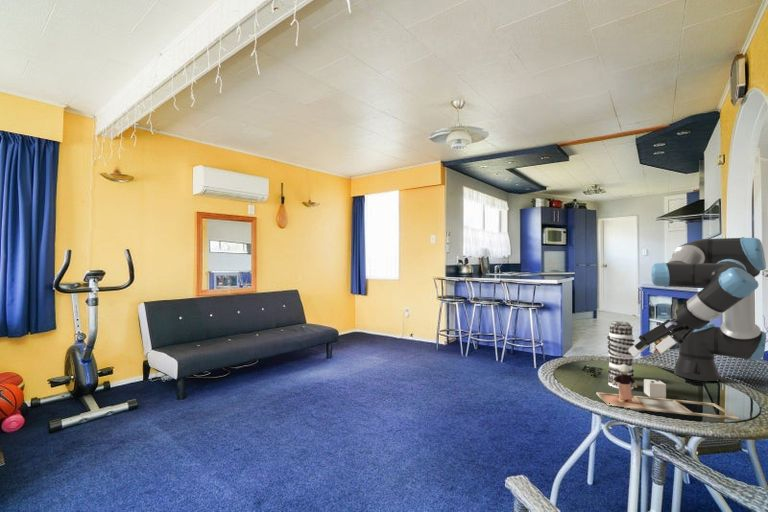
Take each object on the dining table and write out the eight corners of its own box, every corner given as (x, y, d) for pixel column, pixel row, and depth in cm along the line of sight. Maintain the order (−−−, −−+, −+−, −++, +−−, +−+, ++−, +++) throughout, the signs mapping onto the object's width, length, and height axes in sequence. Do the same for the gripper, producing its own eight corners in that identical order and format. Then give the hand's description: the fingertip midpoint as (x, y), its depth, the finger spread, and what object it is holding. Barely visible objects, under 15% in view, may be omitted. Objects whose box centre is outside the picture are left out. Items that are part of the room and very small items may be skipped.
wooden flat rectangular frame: (714, 405, 125) (714, 403, 125) (739, 420, 113) (739, 418, 113) (596, 393, 135) (596, 392, 135) (607, 406, 122) (607, 404, 122)
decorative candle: (611, 388, 141) (611, 323, 141) (604, 381, 150) (604, 319, 150) (638, 391, 138) (638, 324, 139) (629, 383, 147) (629, 321, 148)
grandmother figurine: (631, 399, 129) (631, 363, 129) (638, 403, 125) (638, 366, 125) (609, 399, 129) (609, 362, 129) (616, 403, 125) (616, 365, 125)
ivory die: (659, 393, 136) (659, 378, 136) (666, 398, 131) (665, 382, 131) (643, 392, 137) (643, 377, 137) (649, 397, 132) (649, 381, 132)
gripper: (681, 324, 100) (627, 365, 114) (734, 319, 109) (677, 358, 123) (660, 303, 105) (611, 344, 119) (712, 300, 114) (660, 339, 128)
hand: (645, 351), depth 121 cm, fingers open, 13 cm apart
